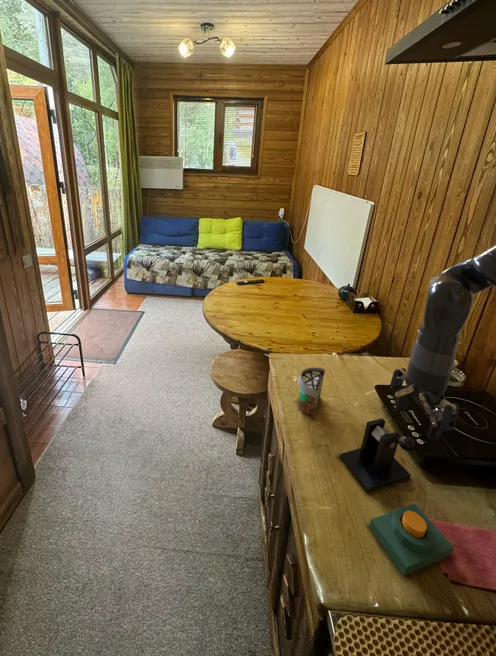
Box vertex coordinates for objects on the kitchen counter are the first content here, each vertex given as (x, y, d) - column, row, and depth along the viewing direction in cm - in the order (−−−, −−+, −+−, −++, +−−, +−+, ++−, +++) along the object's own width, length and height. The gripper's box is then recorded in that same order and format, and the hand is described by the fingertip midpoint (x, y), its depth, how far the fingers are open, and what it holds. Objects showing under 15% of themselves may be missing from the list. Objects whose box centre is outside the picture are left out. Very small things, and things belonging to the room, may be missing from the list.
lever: (400, 444, 75) (408, 434, 75) (412, 455, 72) (420, 445, 72) (368, 433, 70) (376, 422, 70) (379, 444, 67) (387, 433, 67)
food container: (301, 388, 98) (304, 361, 95) (320, 395, 95) (325, 368, 92) (289, 412, 88) (293, 383, 85) (311, 421, 85) (316, 392, 82)
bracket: (378, 446, 78) (388, 408, 74) (410, 478, 70) (422, 438, 66) (339, 457, 75) (346, 418, 71) (366, 493, 67) (377, 451, 63)
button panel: (412, 510, 63) (417, 496, 62) (451, 555, 56) (457, 540, 55) (368, 526, 60) (372, 512, 59) (404, 575, 53) (409, 560, 52)
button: (411, 514, 59) (414, 508, 59) (429, 535, 56) (431, 528, 55) (397, 520, 58) (399, 513, 58) (414, 541, 55) (416, 534, 54)
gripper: (478, 380, 61) (457, 444, 66) (414, 343, 74) (401, 399, 79) (450, 387, 59) (430, 452, 64) (389, 348, 72) (377, 404, 77)
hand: (414, 423), depth 71 cm, fingers open, 8 cm apart
